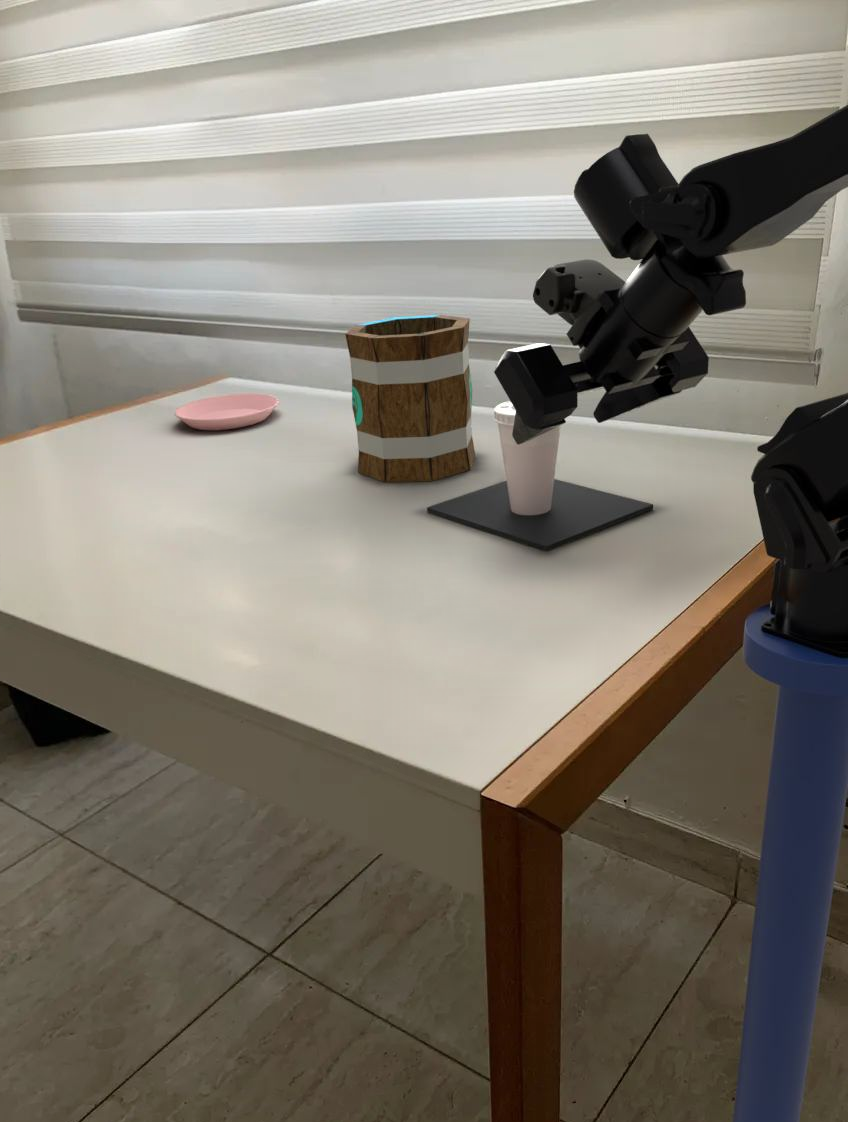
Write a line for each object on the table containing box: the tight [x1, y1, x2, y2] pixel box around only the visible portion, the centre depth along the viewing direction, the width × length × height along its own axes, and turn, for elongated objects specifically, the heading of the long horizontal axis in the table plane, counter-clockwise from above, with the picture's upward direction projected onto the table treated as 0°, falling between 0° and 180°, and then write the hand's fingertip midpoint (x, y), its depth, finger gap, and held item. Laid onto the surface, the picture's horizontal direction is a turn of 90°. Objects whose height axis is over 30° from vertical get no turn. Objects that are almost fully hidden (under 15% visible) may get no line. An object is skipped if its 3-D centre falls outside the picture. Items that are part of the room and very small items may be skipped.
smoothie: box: [493, 400, 562, 515], centre depth 93 cm, size 6×6×14 cm
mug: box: [344, 314, 476, 483], centre depth 113 cm, size 20×14×15 cm
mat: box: [426, 478, 654, 552], centre depth 97 cm, size 16×14×1 cm
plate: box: [174, 393, 280, 431], centre depth 140 cm, size 14×14×2 cm
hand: (557, 428), depth 89 cm, fingers open, 9 cm apart
